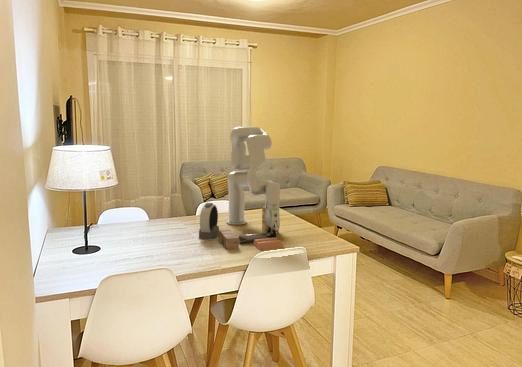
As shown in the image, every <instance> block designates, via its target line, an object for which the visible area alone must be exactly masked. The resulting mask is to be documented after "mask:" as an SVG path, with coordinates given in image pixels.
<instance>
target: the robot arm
mask: <svg viewBox="0 0 522 367" xmlns="http://www.w3.org/2000/svg"><path fill="white" fill-rule="evenodd" d="M245 142H246V143H245ZM230 143H231V153H230V166H231V168H232V170H235V171H231V172H229V173H228V175H227V177H226V180H227V186H228V188H227V189H228V218H227V219H226V221H225V223H226V224H228V225H231V226H240V225H245V224H247V222H248V220H247V219H245V192H244V191H243V189H242V187H248V189H249V192H250V194H252V195H254V196H259V195H260V196H261V195H264V196H265V197H264V202H265V203H264V206H265V209H266V214H265V223H266V225H267V233H269V232H271V234H270V238H274V237H276V236H277V234H278V233H277V231H278V228H279V229H280V227H281V220H280V219H281V216H280V198H281V196H280V193H281V192H280V190H281V185H280V183H279V182H276V181H275V182H274V181H273V180H271V179H263V180H262V179H261V180H257V179H256V176H257V169H258V168H259V167H261V166H263V165H265V164H266V163H267V157H266V154H265V151H266V150H269V149H271V147H272V146H273V145H272V138H271V137H270V135H269V134H268V133H267V132H266V131H264V130H263V128H261V127H259V126H236V127H234V128H232V129H231V131H230ZM264 150H265V151H264ZM247 152H248V153H247ZM273 227H274V228H273ZM273 229H274V230H273ZM276 238H277V237H276Z"/></svg>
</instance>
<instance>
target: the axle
mask: <svg viewBox="0 0 522 367" xmlns="http://www.w3.org/2000/svg"><path fill="white" fill-rule="evenodd" d="M270 234H271V232H269V233H263V232H261V233H260V232H259V233H250V234H242V235H241V234H239V235H238V237H239V244H243V243H244V244H245V243H253V242H254V240H255V239H264V238H270ZM276 238H278V237H277V235H276Z"/></svg>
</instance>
